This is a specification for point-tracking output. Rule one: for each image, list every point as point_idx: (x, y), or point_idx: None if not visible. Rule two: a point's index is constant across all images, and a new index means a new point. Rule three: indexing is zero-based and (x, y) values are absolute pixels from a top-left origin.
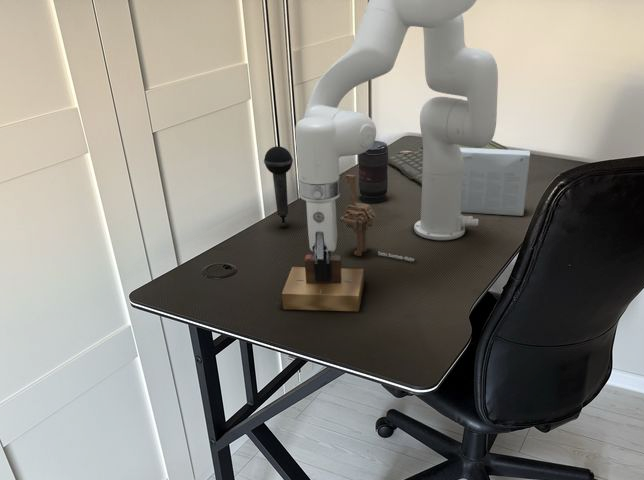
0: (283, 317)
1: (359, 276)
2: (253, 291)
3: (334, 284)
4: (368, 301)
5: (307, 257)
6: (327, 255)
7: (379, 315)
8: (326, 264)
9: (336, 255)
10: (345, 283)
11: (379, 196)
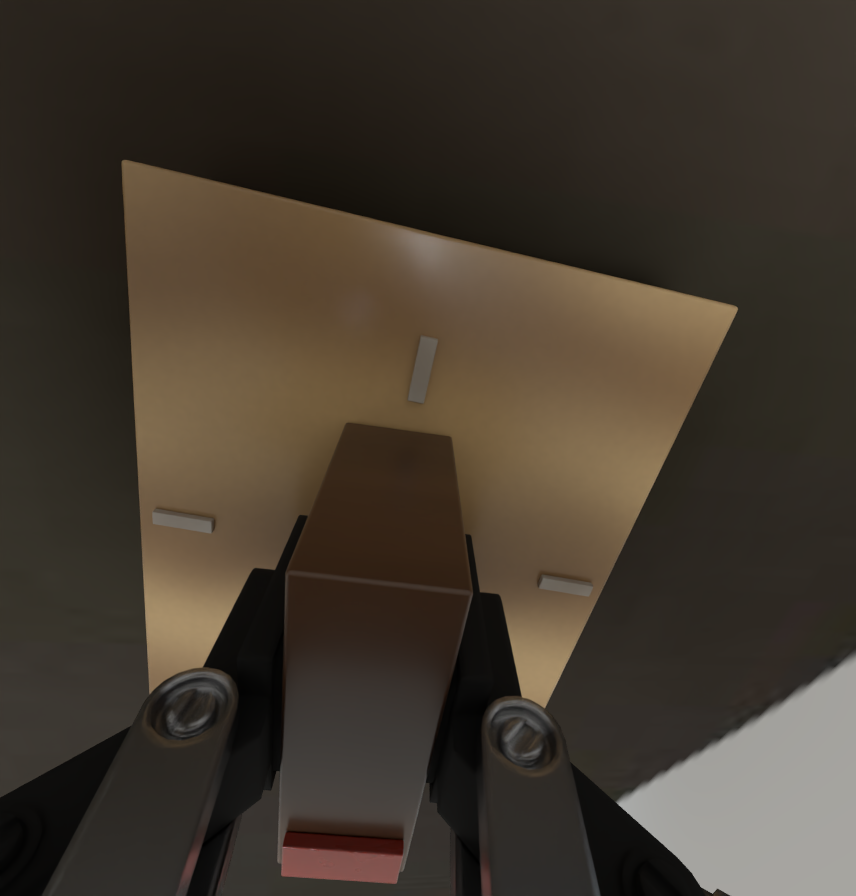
0: (582, 668)
1: (320, 238)
2: None
3: (461, 486)
4: (522, 182)
5: (364, 874)
6: (589, 872)
7: (780, 118)
8: (490, 703)
9: (290, 624)
10: (459, 398)
11: None
